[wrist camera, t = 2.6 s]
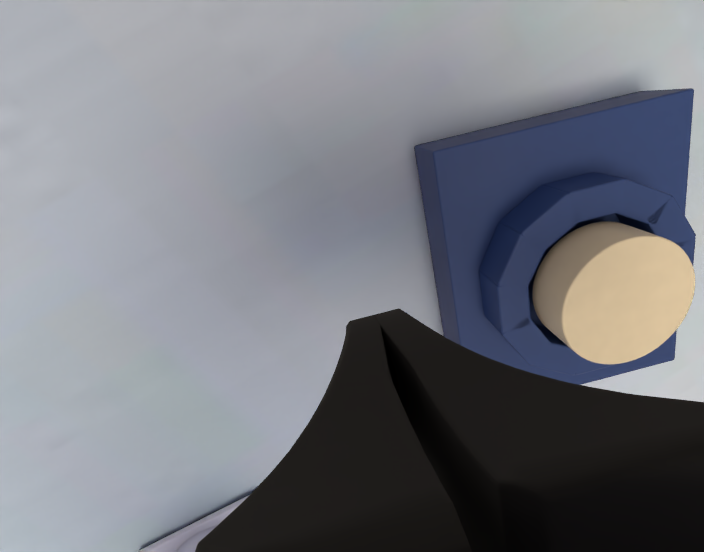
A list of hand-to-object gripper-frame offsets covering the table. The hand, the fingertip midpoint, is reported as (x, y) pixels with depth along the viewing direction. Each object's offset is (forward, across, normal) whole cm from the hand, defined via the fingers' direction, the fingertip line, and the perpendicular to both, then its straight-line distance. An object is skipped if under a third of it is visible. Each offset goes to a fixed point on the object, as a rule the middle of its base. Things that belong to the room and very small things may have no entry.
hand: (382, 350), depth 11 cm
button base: (+9, -9, +3) cm, 13 cm away
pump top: (+5, -9, +3) cm, 11 cm away
